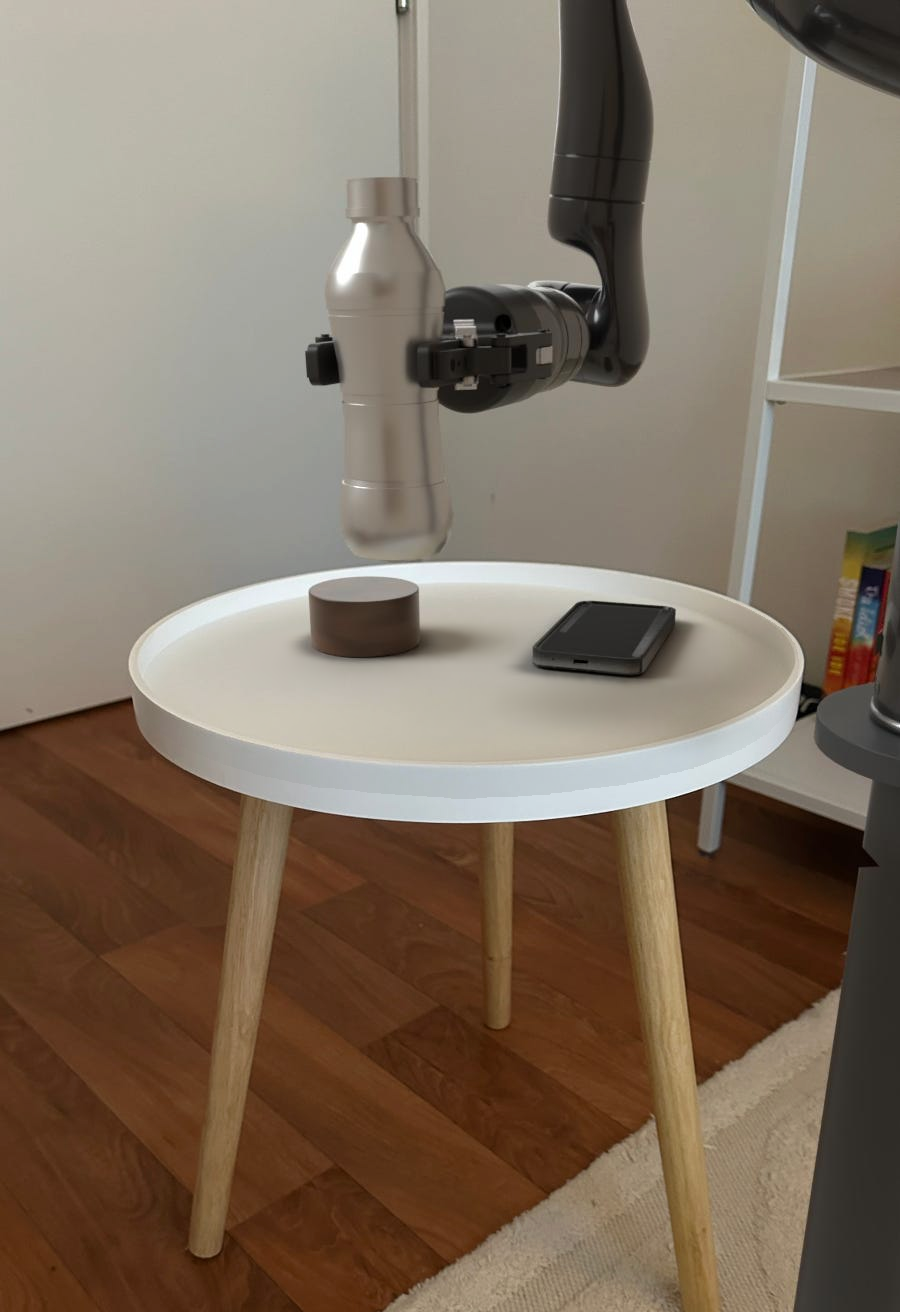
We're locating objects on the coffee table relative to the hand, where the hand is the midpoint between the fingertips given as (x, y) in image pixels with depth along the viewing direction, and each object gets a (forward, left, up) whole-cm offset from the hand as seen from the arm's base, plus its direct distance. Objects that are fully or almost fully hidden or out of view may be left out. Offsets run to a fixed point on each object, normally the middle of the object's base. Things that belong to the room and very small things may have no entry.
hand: (367, 365), depth 62 cm
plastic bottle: (0, -3, -11) cm, 11 cm away
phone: (-6, -21, -20) cm, 30 cm away
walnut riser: (+10, -13, -20) cm, 26 cm away
